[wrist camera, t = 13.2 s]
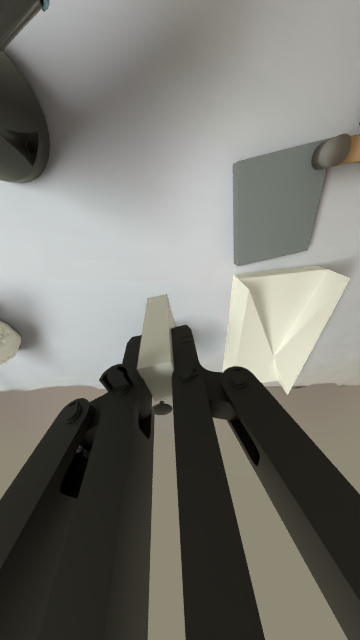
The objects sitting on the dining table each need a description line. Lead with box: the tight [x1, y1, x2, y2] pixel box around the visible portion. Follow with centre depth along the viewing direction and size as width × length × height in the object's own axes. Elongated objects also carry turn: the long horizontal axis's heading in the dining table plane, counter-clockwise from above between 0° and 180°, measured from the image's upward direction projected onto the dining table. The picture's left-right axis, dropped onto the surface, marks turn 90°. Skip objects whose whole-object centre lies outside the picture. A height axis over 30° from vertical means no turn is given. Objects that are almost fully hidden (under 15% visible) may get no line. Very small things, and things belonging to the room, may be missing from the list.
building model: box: [223, 266, 350, 394], centre depth 52 cm, size 45×22×10 cm, turn 4°
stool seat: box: [233, 137, 334, 266], centre depth 34 cm, size 18×16×2 cm
